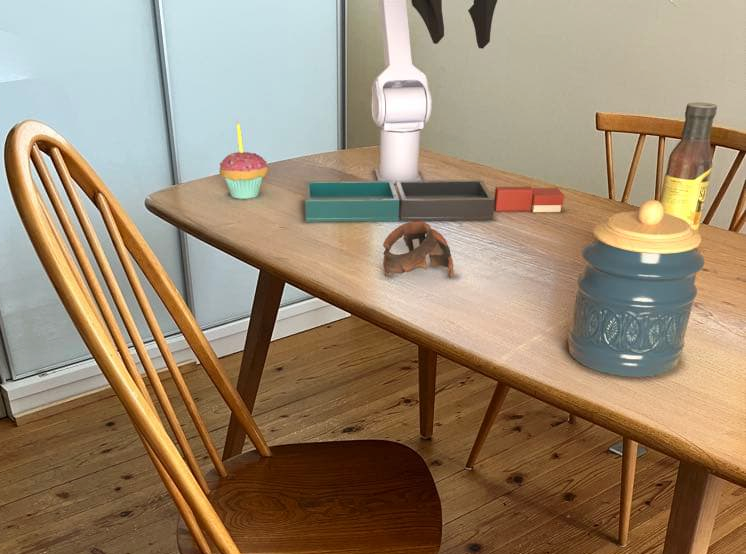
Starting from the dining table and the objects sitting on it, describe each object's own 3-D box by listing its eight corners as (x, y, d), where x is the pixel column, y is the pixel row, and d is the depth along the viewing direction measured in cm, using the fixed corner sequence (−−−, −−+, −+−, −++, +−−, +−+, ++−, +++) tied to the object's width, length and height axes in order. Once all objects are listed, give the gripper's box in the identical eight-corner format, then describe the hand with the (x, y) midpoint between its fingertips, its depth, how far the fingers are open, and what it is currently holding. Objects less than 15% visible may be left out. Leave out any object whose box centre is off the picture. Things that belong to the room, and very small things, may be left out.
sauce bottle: (695, 255, 134) (730, 110, 122) (652, 252, 135) (682, 108, 123) (690, 242, 139) (723, 101, 127) (649, 239, 140) (677, 99, 128)
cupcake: (214, 191, 161) (209, 118, 153) (259, 186, 163) (256, 114, 156) (230, 204, 154) (225, 129, 147) (277, 198, 157) (274, 124, 150)
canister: (596, 324, 113) (623, 177, 103) (697, 352, 107) (736, 198, 96) (545, 358, 105) (569, 202, 95) (651, 390, 98) (688, 227, 88)
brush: (492, 205, 155) (494, 184, 153) (555, 204, 155) (558, 184, 153) (496, 213, 151) (499, 192, 149) (561, 212, 151) (564, 191, 149)
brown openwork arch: (464, 288, 124) (444, 241, 118) (401, 316, 127) (378, 272, 121) (449, 238, 132) (428, 193, 126) (389, 266, 134) (367, 222, 128)
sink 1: (305, 201, 156) (304, 181, 154) (392, 201, 156) (392, 180, 154) (305, 222, 147) (305, 200, 145) (398, 221, 147) (399, 199, 145)
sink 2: (394, 201, 156) (395, 180, 154) (480, 200, 157) (482, 179, 155) (400, 221, 147) (401, 199, 145) (492, 220, 148) (494, 199, 146)
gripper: (417, -78, 123) (430, 20, 123) (507, -63, 129) (519, 31, 129) (395, -45, 130) (407, 49, 130) (481, -32, 135) (492, 58, 135)
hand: (461, 42), depth 130 cm, fingers open, 7 cm apart
